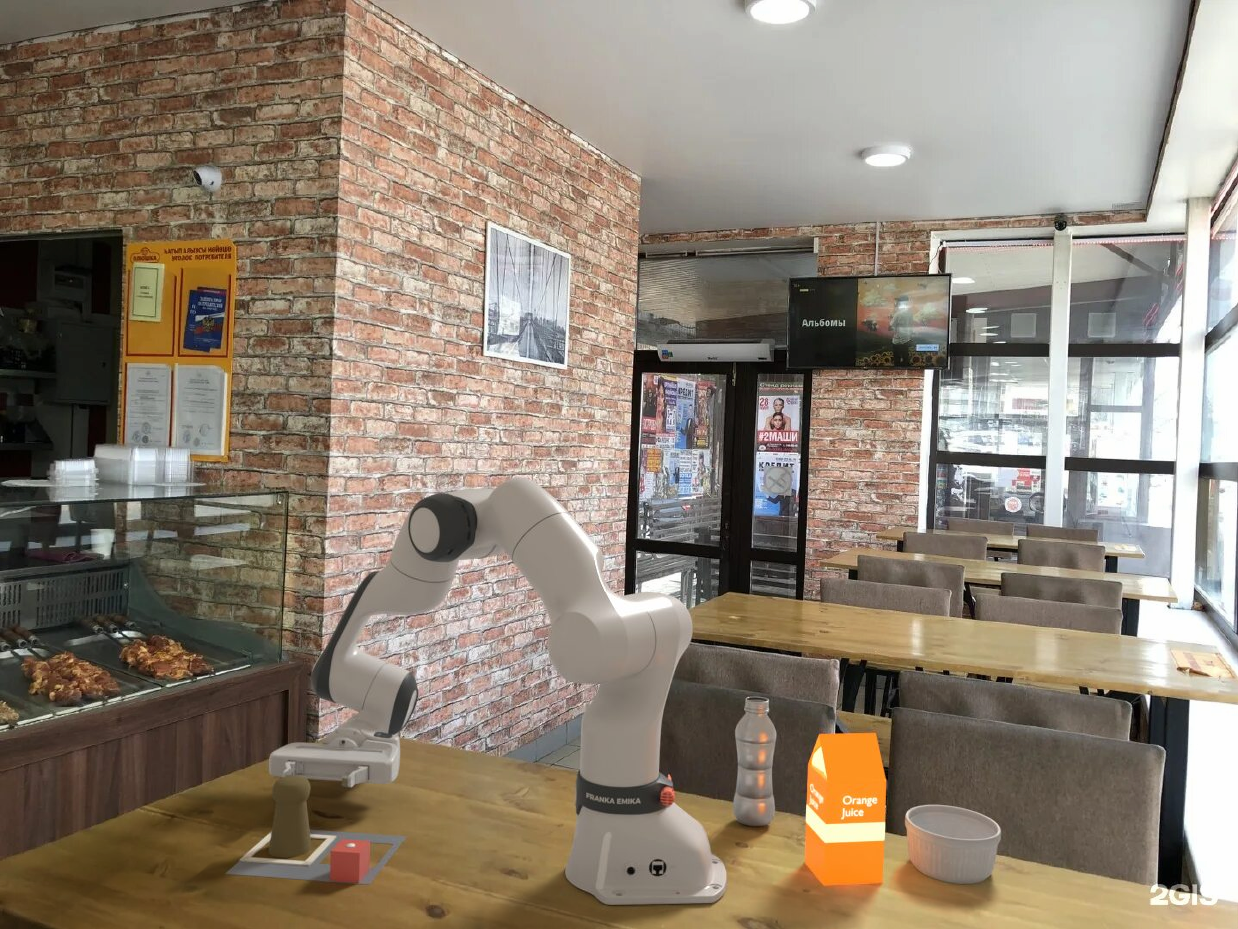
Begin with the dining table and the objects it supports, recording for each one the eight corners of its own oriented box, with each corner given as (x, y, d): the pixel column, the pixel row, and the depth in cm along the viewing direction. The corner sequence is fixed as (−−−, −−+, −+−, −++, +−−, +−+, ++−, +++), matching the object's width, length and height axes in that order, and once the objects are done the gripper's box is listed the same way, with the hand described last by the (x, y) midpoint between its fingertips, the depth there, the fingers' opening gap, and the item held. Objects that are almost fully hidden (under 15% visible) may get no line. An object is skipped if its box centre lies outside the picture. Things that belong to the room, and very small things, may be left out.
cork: (286, 867, 136) (288, 788, 136) (258, 856, 139) (260, 779, 139) (321, 852, 141) (322, 776, 141) (293, 842, 144) (294, 768, 144)
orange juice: (883, 883, 137) (888, 741, 136) (823, 886, 135) (828, 742, 135) (860, 859, 145) (865, 725, 144) (803, 861, 143) (808, 726, 143)
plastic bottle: (777, 832, 154) (781, 705, 153) (734, 830, 154) (738, 704, 153) (771, 816, 160) (775, 695, 160) (730, 815, 160) (734, 693, 160)
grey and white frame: (406, 841, 146) (406, 835, 146) (369, 890, 130) (369, 883, 130) (277, 832, 148) (277, 826, 148) (225, 879, 132) (225, 872, 132)
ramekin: (1012, 868, 143) (1014, 821, 143) (978, 898, 133) (980, 848, 133) (925, 842, 152) (927, 797, 152) (887, 868, 142) (889, 821, 142)
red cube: (369, 870, 134) (370, 840, 134) (359, 883, 130) (359, 852, 130) (341, 868, 135) (341, 838, 134) (329, 880, 131) (330, 850, 131)
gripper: (289, 729, 164) (251, 755, 150) (408, 736, 162) (380, 764, 149) (288, 766, 164) (250, 796, 151) (407, 774, 163) (379, 805, 149)
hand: (316, 780), depth 150 cm, fingers open, 8 cm apart
